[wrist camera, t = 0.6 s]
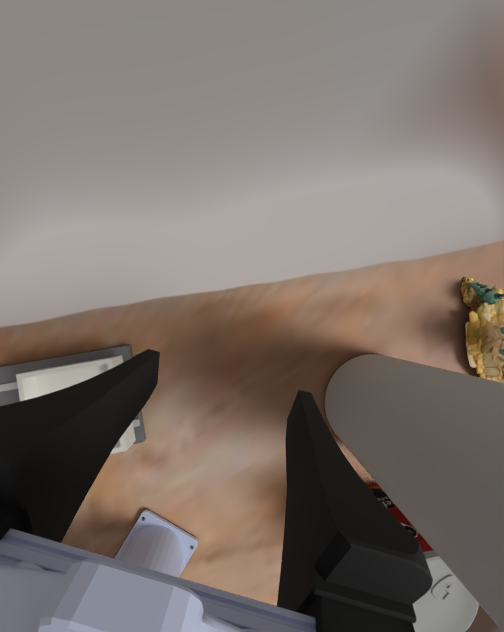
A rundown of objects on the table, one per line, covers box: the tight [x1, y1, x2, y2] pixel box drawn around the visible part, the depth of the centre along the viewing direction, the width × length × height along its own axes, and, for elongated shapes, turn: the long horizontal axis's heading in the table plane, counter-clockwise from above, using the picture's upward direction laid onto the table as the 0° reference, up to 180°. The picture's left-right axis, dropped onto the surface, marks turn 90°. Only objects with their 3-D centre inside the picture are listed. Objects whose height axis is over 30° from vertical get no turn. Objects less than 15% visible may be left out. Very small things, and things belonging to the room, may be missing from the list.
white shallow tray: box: [16, 355, 136, 454], centre depth 30 cm, size 10×10×4 cm
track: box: [0, 345, 146, 444], centre depth 31 cm, size 22×12×3 cm, turn 100°
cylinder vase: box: [325, 354, 504, 632], centre depth 22 cm, size 12×12×25 cm
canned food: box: [367, 484, 479, 632], centre depth 29 cm, size 8×8×11 cm
